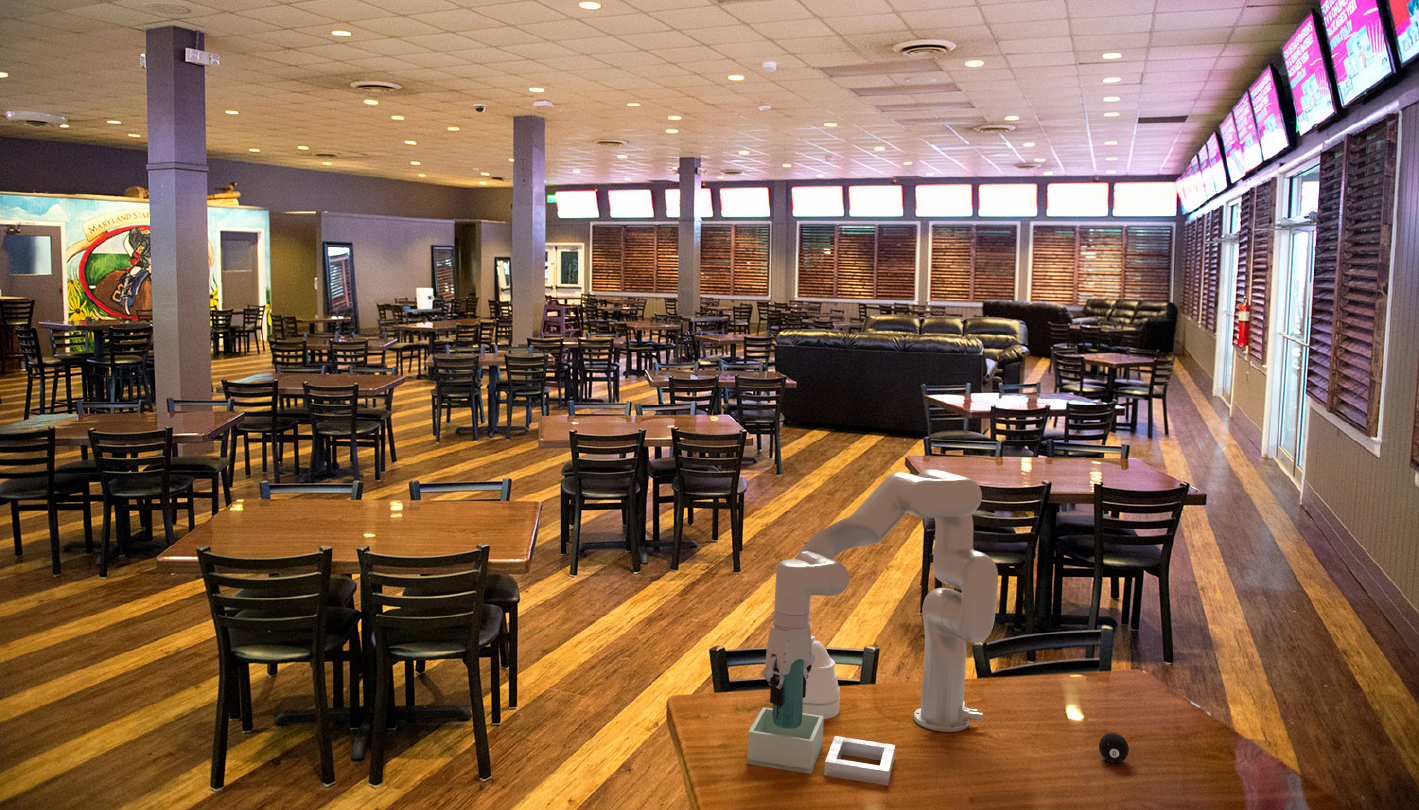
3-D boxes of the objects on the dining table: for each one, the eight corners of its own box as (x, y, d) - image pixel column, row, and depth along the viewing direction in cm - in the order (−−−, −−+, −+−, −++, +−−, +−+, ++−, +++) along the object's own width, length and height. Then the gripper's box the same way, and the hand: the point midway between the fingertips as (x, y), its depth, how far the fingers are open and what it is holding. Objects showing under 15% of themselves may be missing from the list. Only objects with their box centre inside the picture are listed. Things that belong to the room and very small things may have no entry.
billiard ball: (1126, 757, 225) (1128, 731, 224) (1128, 769, 219) (1130, 742, 218) (1097, 752, 227) (1099, 726, 226) (1098, 764, 221) (1100, 737, 220)
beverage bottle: (807, 729, 220) (812, 639, 217) (789, 739, 215) (793, 646, 213) (783, 720, 224) (788, 631, 222) (764, 729, 219) (769, 638, 217)
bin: (822, 746, 225) (823, 716, 224) (811, 774, 212) (812, 741, 211) (761, 737, 228) (763, 707, 228) (747, 763, 215) (748, 731, 214)
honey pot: (806, 723, 237) (809, 648, 235) (775, 703, 248) (778, 631, 246) (850, 713, 243) (854, 640, 241) (818, 694, 254) (821, 624, 252)
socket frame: (894, 758, 220) (895, 745, 220) (887, 785, 208) (888, 771, 207) (834, 749, 224) (834, 736, 223) (824, 775, 211) (825, 761, 211)
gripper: (804, 607, 225) (800, 685, 227) (750, 622, 213) (746, 705, 215) (831, 615, 220) (827, 695, 222) (777, 631, 208) (773, 716, 210)
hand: (787, 699), depth 219 cm, fingers closed on beverage bottle, 6 cm apart
